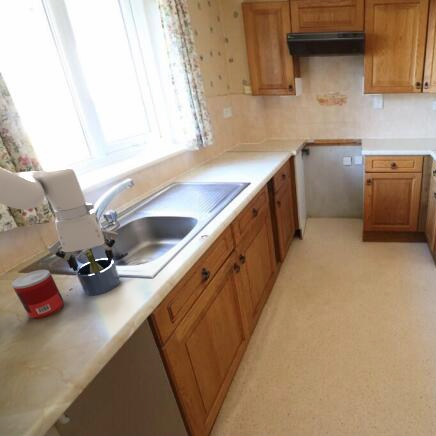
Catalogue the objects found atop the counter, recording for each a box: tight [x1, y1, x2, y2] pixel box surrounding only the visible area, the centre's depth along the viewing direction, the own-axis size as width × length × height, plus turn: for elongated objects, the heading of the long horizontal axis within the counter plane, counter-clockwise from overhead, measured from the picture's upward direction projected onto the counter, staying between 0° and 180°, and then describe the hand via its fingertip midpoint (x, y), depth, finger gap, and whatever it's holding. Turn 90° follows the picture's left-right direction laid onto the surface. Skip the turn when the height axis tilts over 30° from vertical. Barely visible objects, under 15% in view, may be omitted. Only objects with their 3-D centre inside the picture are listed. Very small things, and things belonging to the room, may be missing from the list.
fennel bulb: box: [84, 248, 105, 275], centre depth 98 cm, size 6×5×12 cm
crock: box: [75, 257, 121, 296], centre depth 99 cm, size 10×10×7 cm
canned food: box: [11, 269, 65, 320], centre depth 89 cm, size 8×8×11 cm
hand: (93, 264), depth 97 cm, fingers open, 8 cm apart
